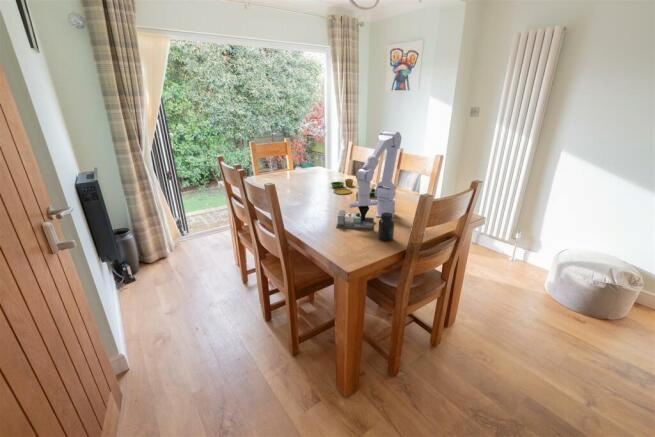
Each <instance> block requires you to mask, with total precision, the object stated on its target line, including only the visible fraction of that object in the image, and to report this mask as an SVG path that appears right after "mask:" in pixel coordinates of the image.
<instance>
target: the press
mask: <svg viewBox="0 0 655 437" xmlns="http://www.w3.org/2000/svg"><path fill="white" fill-rule="evenodd" d="M346 212H347V211H346V210H345V209H344V210H342V209H340V210H339V211H338V213H337V223H336V225H335V228H337V229H349V230H350V229H351V230H362V231H363V230H367V231H374V222H375V221H374V220H375V217H371V216H365V220H364V221H363V220H362V219H361V224H358V223H355V225H349V224H345V214H347V213H346Z"/></svg>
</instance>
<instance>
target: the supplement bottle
mask: <svg viewBox="0 0 655 437" xmlns="http://www.w3.org/2000/svg"><path fill="white" fill-rule="evenodd" d="M392 216H393V215H392V214H391V213H388V212H385V213H382V215H381V217H380V219H379V221H378V237H377V238H378V239H379V240H380V241H381V242H385V243H386V242H392V241H394V235H395V221H394V218H393V217H392Z"/></svg>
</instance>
